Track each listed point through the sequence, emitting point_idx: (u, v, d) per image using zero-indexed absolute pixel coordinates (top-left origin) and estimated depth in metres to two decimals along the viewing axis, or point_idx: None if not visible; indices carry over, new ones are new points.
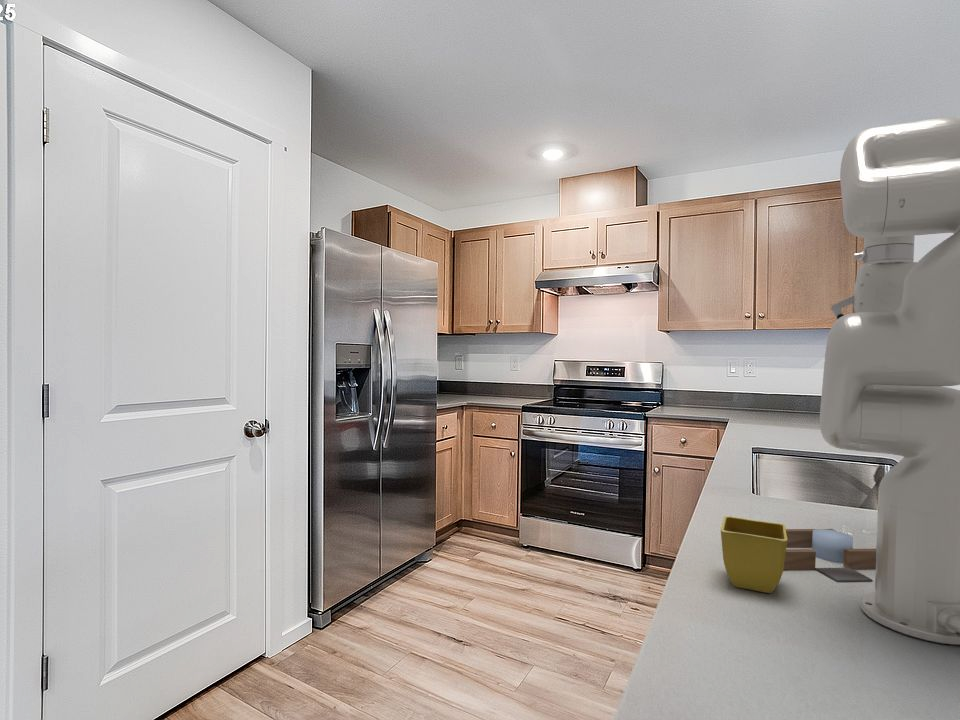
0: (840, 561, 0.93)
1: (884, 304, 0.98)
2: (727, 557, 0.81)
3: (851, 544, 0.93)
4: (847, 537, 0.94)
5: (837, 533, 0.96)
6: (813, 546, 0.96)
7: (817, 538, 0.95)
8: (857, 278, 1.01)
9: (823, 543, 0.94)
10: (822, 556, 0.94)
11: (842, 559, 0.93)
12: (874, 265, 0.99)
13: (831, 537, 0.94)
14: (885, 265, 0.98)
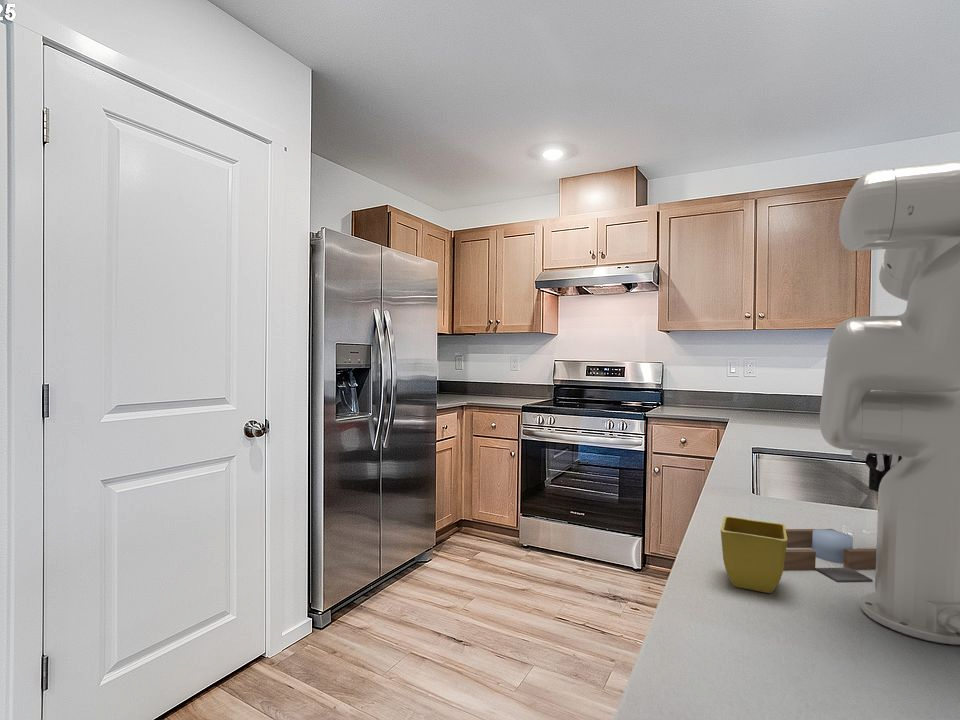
0: (840, 561, 0.93)
1: None
2: (727, 557, 0.81)
3: (851, 544, 0.93)
4: (847, 537, 0.94)
5: (837, 533, 0.96)
6: (813, 546, 0.96)
7: (817, 538, 0.95)
8: None
9: (823, 543, 0.94)
10: (822, 556, 0.94)
11: (842, 559, 0.93)
12: None
13: (831, 537, 0.94)
14: None
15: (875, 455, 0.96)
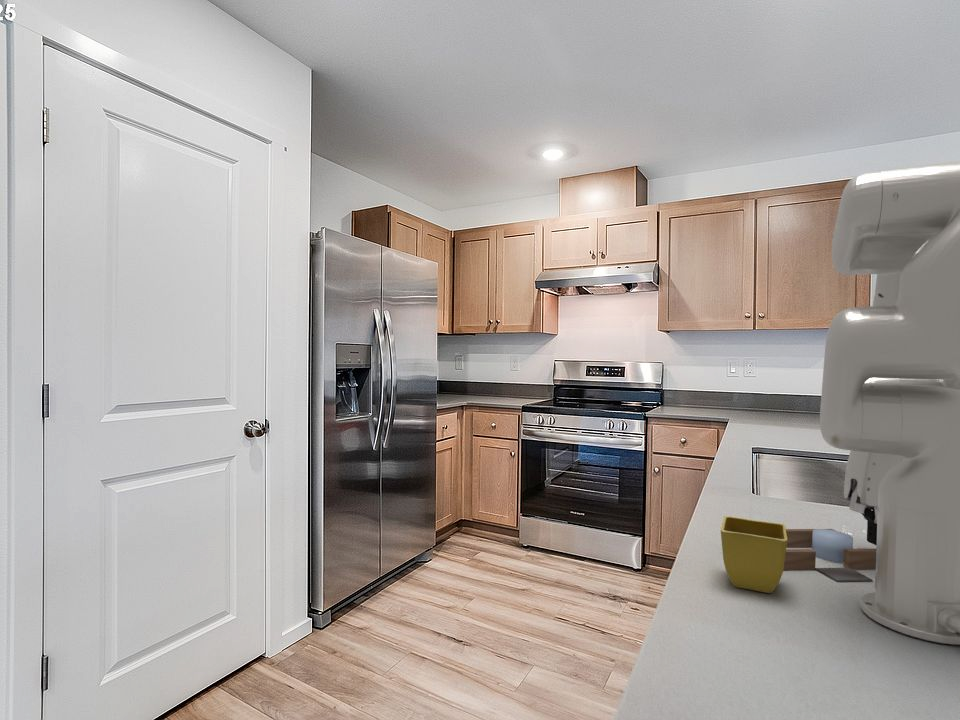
0: (840, 561, 0.93)
1: None
2: (727, 557, 0.81)
3: (851, 544, 0.93)
4: (847, 537, 0.94)
5: (837, 533, 0.96)
6: (813, 546, 0.96)
7: (817, 538, 0.95)
8: None
9: (823, 543, 0.94)
10: (822, 556, 0.94)
11: (842, 559, 0.93)
12: None
13: (831, 537, 0.94)
14: None
15: (873, 508, 0.95)
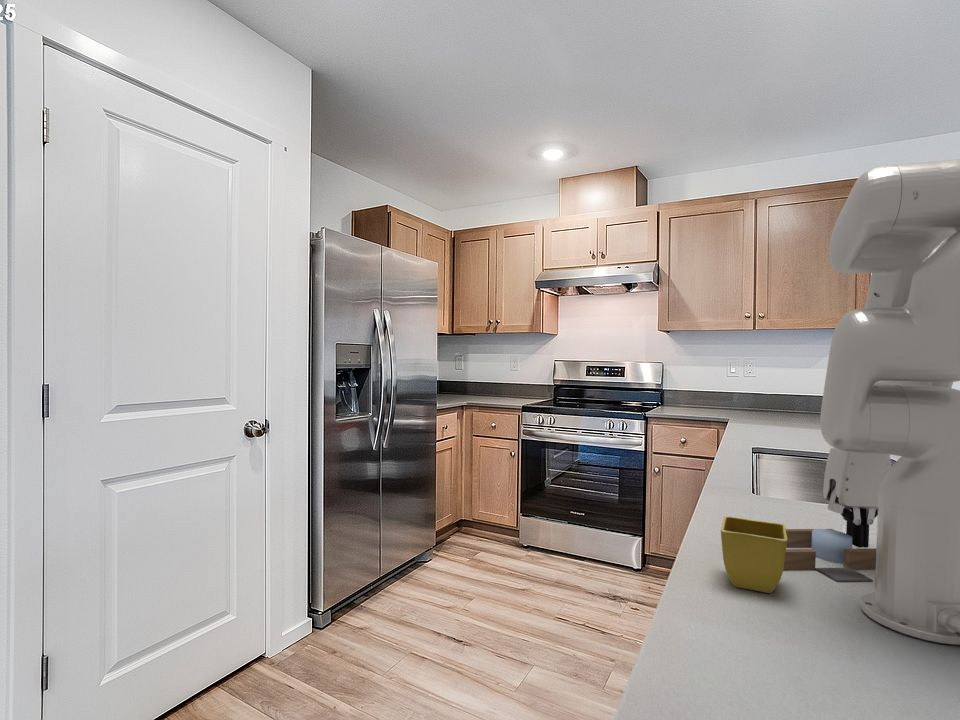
0: (839, 561, 0.93)
1: None
2: (727, 557, 0.81)
3: (850, 544, 0.93)
4: (846, 537, 0.94)
5: (836, 533, 0.96)
6: (812, 546, 0.96)
7: (816, 538, 0.95)
8: None
9: (823, 543, 0.94)
10: (821, 556, 0.94)
11: (841, 559, 0.93)
12: None
13: (831, 537, 0.94)
14: None
15: (851, 508, 0.95)
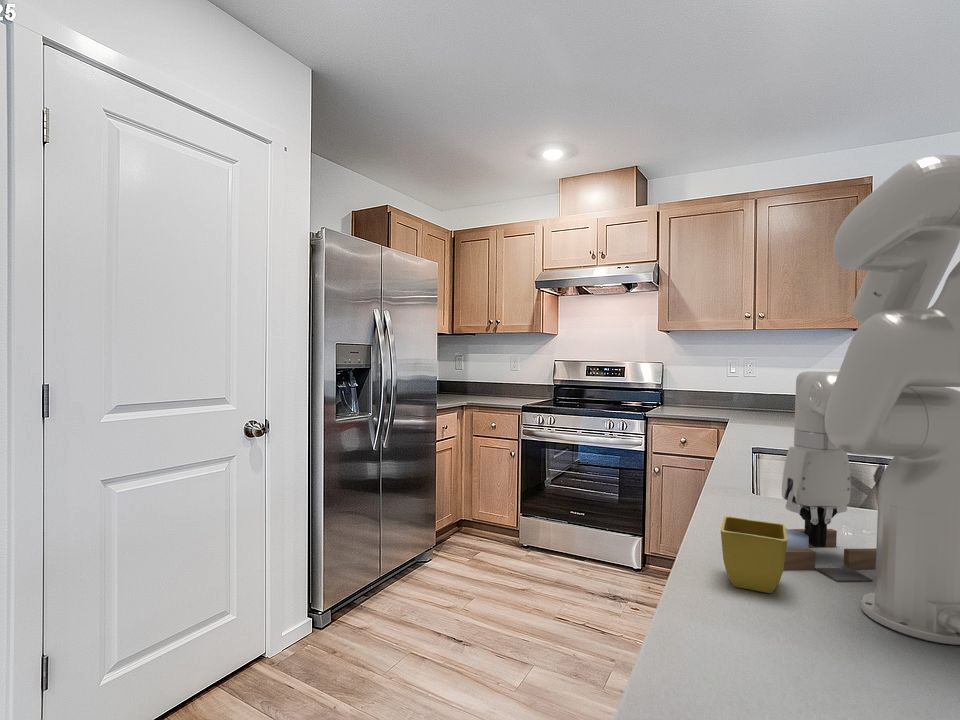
0: None
1: None
2: (727, 557, 0.81)
3: (807, 543, 0.93)
4: (803, 536, 0.94)
5: (794, 532, 0.96)
6: None
7: None
8: None
9: None
10: None
11: None
12: None
13: (787, 537, 0.93)
14: None
15: (809, 508, 0.94)
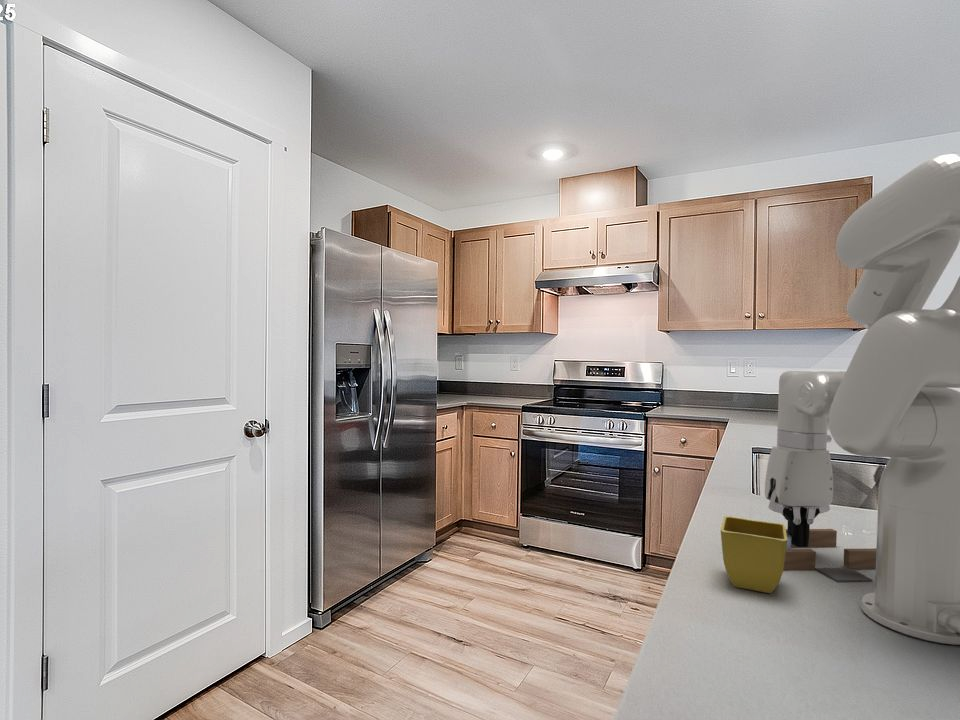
0: None
1: None
2: (727, 557, 0.81)
3: (789, 543, 0.92)
4: None
5: None
6: None
7: None
8: None
9: None
10: None
11: None
12: None
13: None
14: None
15: (791, 508, 0.94)
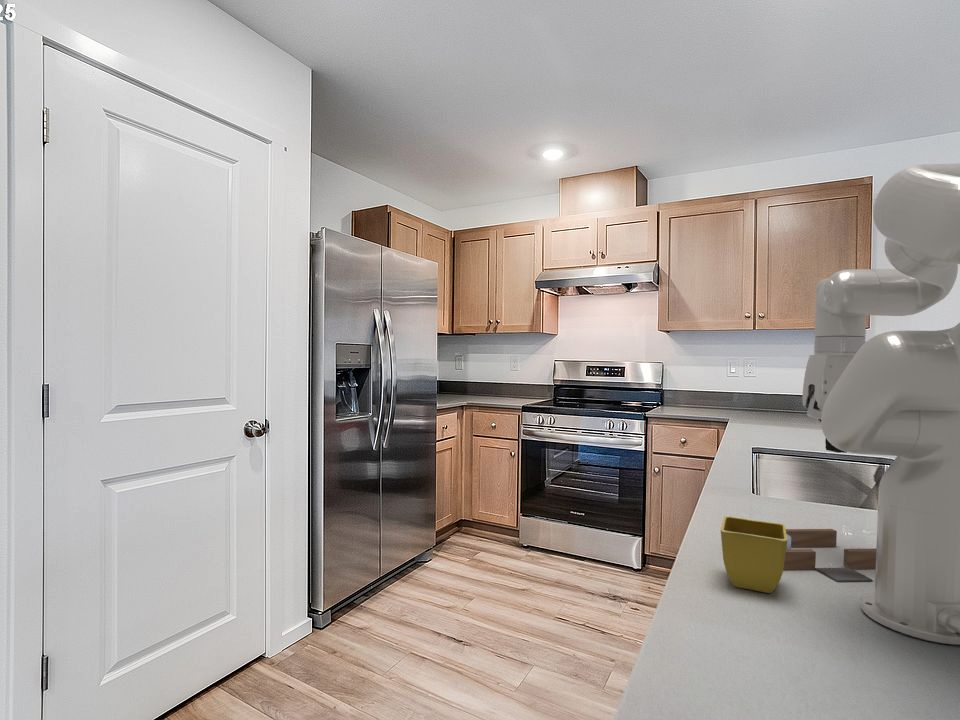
0: None
1: None
2: (727, 557, 0.81)
3: (789, 544, 0.92)
4: None
5: None
6: None
7: None
8: None
9: None
10: None
11: None
12: None
13: None
14: None
15: None
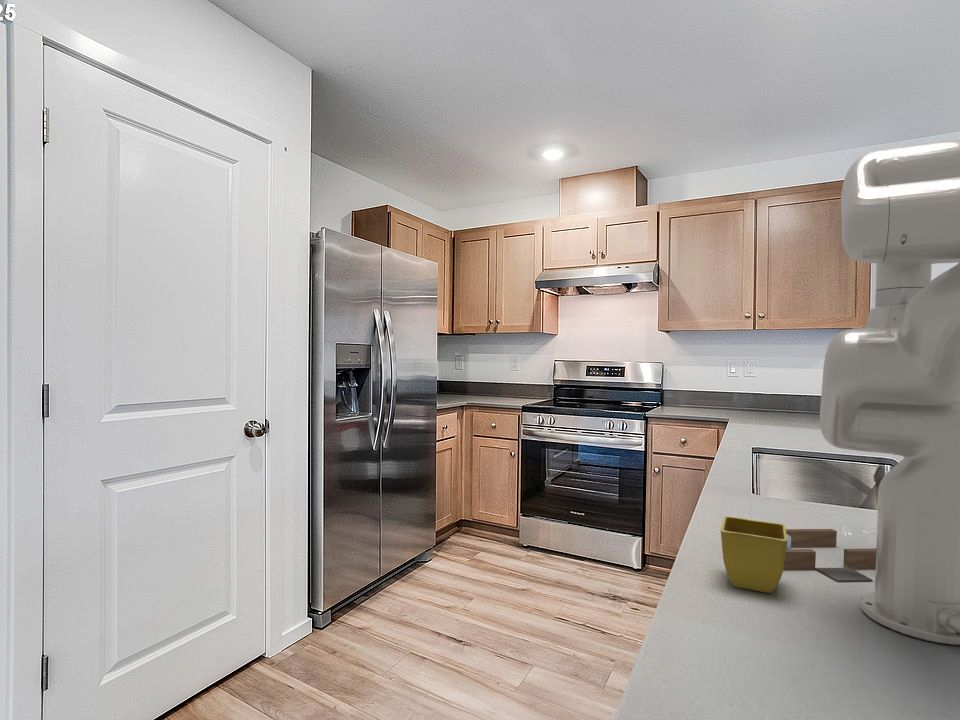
0: None
1: None
2: (727, 557, 0.81)
3: (789, 544, 0.92)
4: None
5: None
6: None
7: None
8: None
9: None
10: None
11: None
12: None
13: None
14: None
15: None
